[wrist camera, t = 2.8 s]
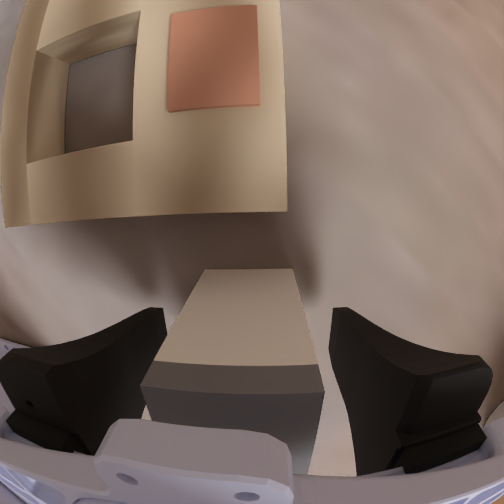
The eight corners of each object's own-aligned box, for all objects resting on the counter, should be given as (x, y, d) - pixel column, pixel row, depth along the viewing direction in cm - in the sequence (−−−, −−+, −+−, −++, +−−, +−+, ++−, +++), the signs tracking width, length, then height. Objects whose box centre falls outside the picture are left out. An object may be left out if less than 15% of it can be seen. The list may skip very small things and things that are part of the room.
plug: (211, 342, 14) (174, 473, 7) (204, 269, 13) (139, 385, 6) (289, 343, 14) (306, 479, 7) (292, 268, 13) (324, 391, 5)
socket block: (41, 216, 13) (1, 228, 10) (78, -52, 8) (57, -70, 4) (281, 202, 12) (287, 212, 9) (265, -94, 7) (264, -124, 4)
